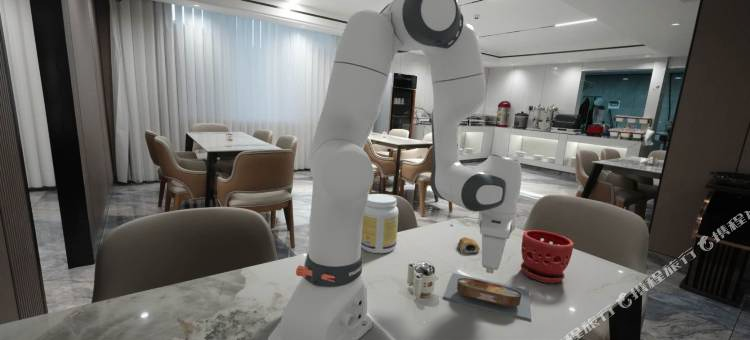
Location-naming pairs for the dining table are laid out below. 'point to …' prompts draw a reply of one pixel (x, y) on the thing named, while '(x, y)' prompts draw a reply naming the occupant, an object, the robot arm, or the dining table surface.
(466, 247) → the pastry
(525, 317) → the mat
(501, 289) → the tin
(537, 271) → the plant pot
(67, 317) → the dining table surface
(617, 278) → the dining table surface
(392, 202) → the supplement tub
